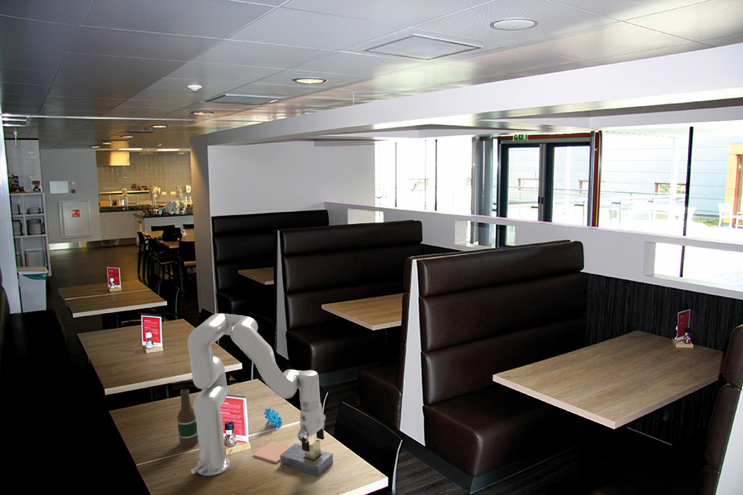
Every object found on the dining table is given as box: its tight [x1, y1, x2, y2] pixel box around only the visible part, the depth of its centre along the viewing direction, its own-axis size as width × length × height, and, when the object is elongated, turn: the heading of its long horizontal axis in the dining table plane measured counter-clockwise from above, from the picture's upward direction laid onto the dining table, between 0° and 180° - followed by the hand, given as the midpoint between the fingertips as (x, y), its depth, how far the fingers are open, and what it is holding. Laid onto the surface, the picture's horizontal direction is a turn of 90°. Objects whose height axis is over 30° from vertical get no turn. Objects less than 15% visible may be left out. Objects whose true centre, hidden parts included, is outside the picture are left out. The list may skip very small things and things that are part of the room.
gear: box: [263, 407, 283, 428], centre depth 244 cm, size 11×6×10 cm
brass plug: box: [304, 437, 321, 461], centre depth 209 cm, size 4×4×10 cm
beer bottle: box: [177, 388, 199, 448], centre depth 228 cm, size 8×8×24 cm
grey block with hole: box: [280, 443, 334, 477], centre depth 211 cm, size 10×18×4 cm, turn 61°
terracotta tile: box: [252, 440, 293, 464], centre depth 220 cm, size 12×12×1 cm
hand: (313, 444), depth 209 cm, fingers open, 9 cm apart
